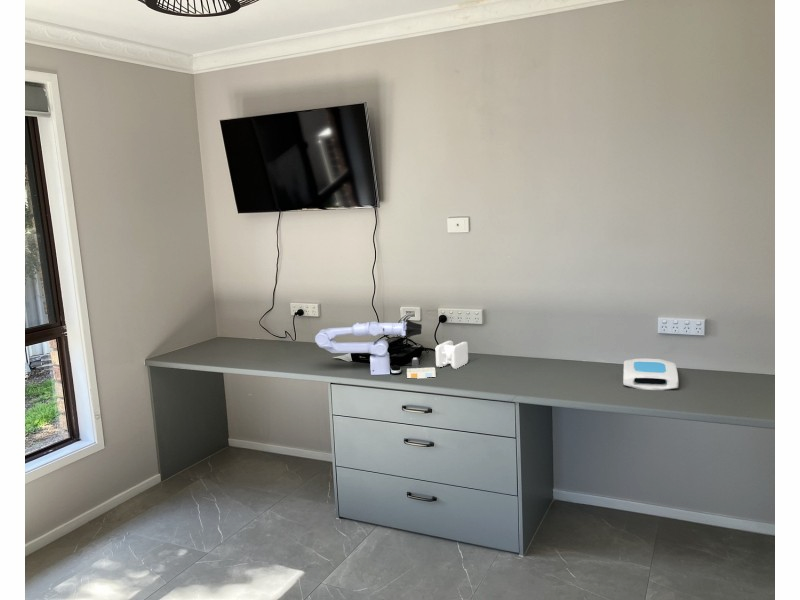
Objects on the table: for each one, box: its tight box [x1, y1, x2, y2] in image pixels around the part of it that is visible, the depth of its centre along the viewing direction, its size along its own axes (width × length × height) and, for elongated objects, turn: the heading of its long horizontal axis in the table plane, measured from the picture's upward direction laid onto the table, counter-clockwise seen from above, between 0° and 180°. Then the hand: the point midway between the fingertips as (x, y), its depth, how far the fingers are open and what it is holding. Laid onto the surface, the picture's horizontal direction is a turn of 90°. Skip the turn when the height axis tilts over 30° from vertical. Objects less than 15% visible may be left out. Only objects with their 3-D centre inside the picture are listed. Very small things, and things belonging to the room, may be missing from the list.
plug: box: [411, 357, 420, 368], centre depth 303 cm, size 3×3×7 cm
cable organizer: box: [434, 340, 469, 370], centre depth 308 cm, size 15×11×12 cm
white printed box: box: [406, 367, 437, 379], centre depth 295 cm, size 13×7×3 cm, turn 89°
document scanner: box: [622, 357, 679, 391], centre depth 271 cm, size 21×28×6 cm
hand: (421, 329), depth 300 cm, fingers open, 7 cm apart
